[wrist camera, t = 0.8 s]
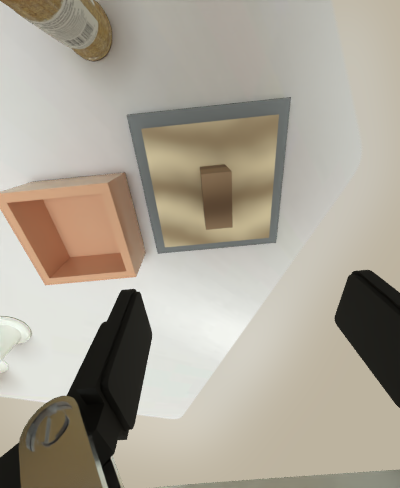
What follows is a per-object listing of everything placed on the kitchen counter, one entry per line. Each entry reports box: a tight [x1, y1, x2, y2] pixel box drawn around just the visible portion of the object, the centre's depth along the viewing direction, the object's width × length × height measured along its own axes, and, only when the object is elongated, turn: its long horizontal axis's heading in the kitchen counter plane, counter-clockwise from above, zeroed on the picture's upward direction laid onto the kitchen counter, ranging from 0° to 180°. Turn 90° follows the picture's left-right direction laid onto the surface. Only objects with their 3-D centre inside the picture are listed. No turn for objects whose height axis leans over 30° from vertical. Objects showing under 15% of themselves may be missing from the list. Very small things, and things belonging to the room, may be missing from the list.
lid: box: [141, 114, 279, 247], centre depth 24 cm, size 15×15×6 cm
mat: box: [127, 97, 291, 254], centre depth 27 cm, size 18×18×1 cm
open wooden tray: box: [0, 172, 146, 285], centre depth 26 cm, size 12×12×6 cm
